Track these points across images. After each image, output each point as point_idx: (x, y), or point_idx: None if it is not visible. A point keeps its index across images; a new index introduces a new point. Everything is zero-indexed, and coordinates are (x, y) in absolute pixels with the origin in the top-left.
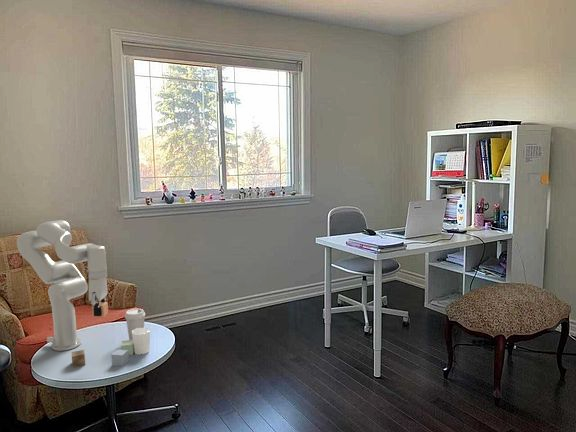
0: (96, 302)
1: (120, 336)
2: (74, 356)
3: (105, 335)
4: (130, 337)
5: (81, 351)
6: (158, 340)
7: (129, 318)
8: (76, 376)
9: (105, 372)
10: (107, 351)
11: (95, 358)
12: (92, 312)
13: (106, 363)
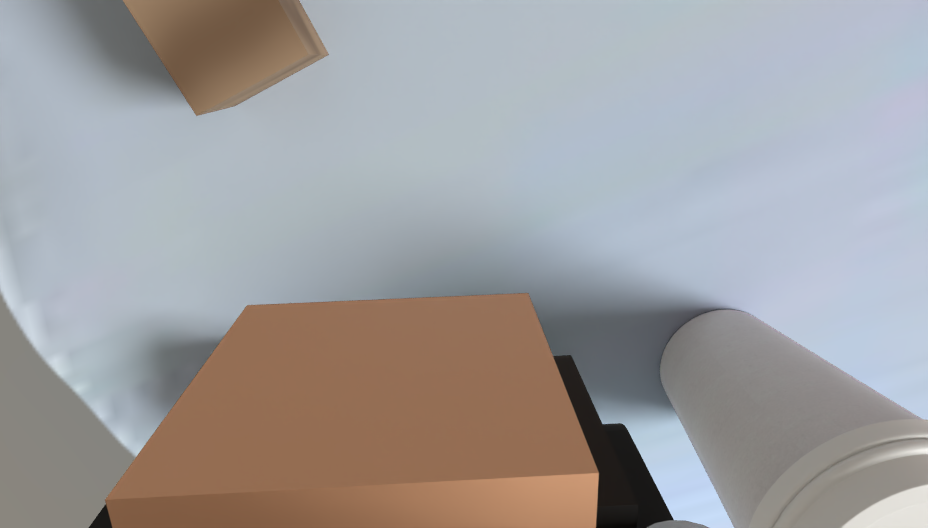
0: (557, 490)
1: (849, 184)
2: (136, 17)
3: (910, 13)
4: (690, 362)
5: (258, 46)
6: (703, 516)
7: (761, 520)
8: (12, 127)
9: (127, 335)
10: (515, 194)
11: (368, 144)
12: (208, 364)
13: (280, 281)
